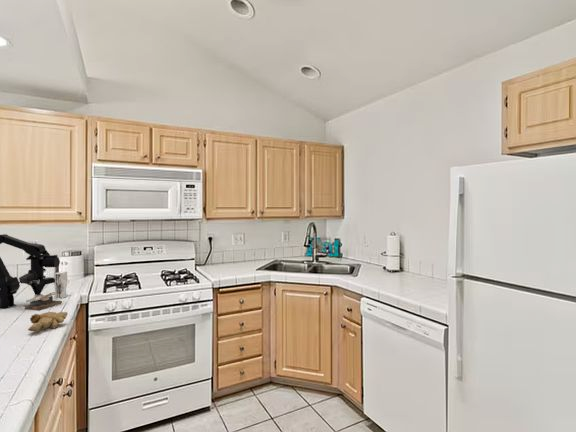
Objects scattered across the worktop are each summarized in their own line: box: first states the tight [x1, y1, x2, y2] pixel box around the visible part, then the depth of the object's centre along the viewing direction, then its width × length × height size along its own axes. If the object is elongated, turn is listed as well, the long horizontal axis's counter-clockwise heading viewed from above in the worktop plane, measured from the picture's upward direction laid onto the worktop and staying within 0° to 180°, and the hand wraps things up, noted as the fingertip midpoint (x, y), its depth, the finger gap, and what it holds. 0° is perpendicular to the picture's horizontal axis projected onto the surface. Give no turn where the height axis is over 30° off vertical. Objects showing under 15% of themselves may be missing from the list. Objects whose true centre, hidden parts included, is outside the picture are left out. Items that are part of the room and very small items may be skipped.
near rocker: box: [25, 296, 41, 303], centre depth 178 cm, size 7×3×1 cm, turn 75°
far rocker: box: [43, 291, 57, 297], centre depth 186 cm, size 7×3×1 cm, turn 75°
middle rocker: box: [33, 293, 50, 301], centre depth 182 cm, size 7×3×1 cm, turn 76°
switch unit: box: [24, 295, 63, 311], centre depth 182 cm, size 10×13×4 cm
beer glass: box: [53, 271, 68, 299], centre depth 200 cm, size 7×7×15 cm
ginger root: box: [27, 311, 68, 333], centre depth 150 cm, size 16×16×8 cm
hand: (37, 295), depth 183 cm, fingers closed, pressing on middle rocker
